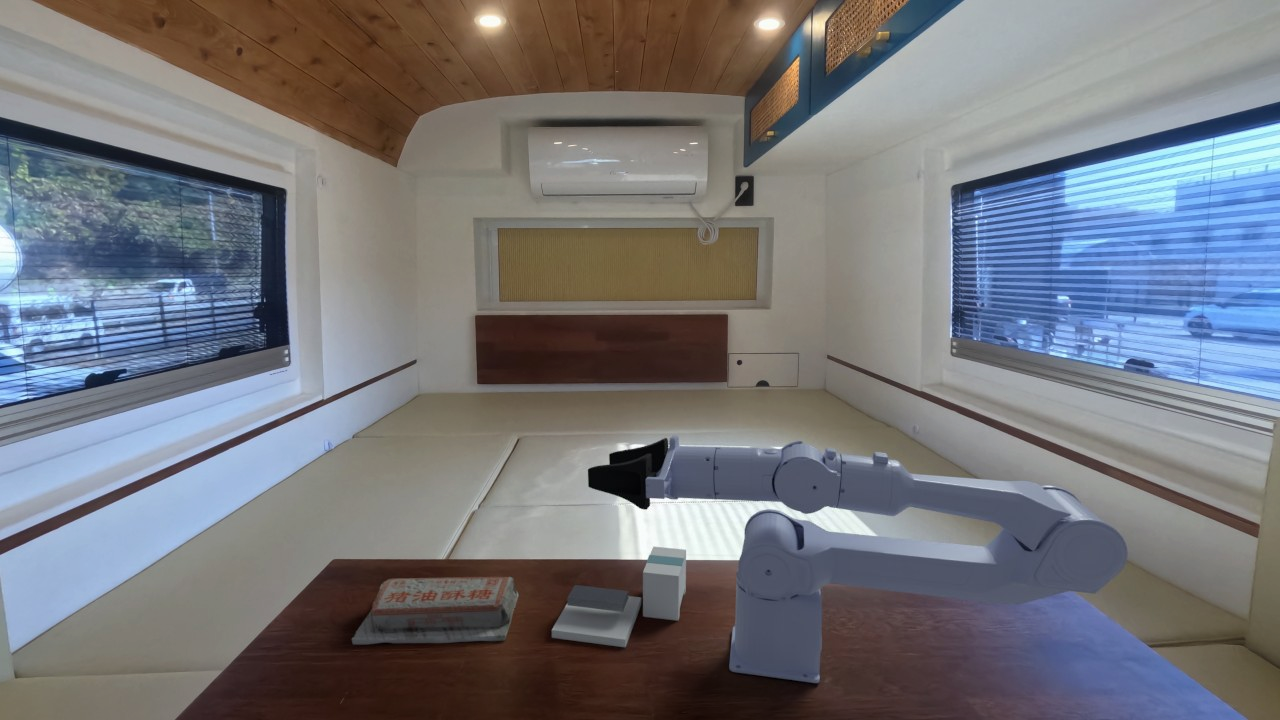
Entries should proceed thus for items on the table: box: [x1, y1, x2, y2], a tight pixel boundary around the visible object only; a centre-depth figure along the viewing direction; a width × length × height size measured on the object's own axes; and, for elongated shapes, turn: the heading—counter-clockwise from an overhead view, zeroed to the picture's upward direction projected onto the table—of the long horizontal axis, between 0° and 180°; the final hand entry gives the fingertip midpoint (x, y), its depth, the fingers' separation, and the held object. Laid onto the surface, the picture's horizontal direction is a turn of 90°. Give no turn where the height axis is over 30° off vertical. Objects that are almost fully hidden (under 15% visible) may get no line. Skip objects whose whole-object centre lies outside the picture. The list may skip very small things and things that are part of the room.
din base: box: [551, 595, 642, 648], centre depth 74 cm, size 9×9×1 cm
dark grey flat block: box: [566, 584, 630, 612], centre depth 74 cm, size 7×3×1 cm, turn 78°
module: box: [642, 546, 687, 622], centre depth 77 cm, size 5×7×6 cm, turn 168°
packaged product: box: [351, 576, 519, 645], centre depth 74 cm, size 18×5×10 cm
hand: (600, 469), depth 69 cm, fingers open, 7 cm apart
